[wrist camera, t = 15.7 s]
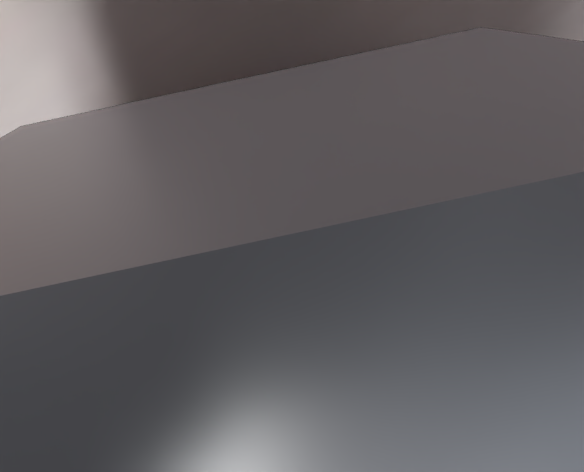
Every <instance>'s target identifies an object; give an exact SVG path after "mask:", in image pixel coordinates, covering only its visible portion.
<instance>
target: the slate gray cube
mask: <svg viewBox="0 0 584 472" xmlns="http://www.w3.org/2000/svg"><path fill="white" fill-rule="evenodd" d="M0 472H584V41H576V40H569V39H562V38H555V37H548V36H540V35H533V34H526V33H519V32H511V31H504V30H497V29H490V28H482V27H480V28H475V29H471V30H466V31H462V32H457V33H452V34H448V35H443V36H438V37H434V38H429V39H424V40H420V41H415V42H410V43H406V44H401V45H396V46H392V47H387V48H382V49H378V50H373V51H368V52H364V53H359V54H354V55H350V56H345V57H340V58H336V59H331V60H326V61H322V62H317V63H312V64H308V65H303V66H299V67H294V68H289V69H285V70H280V71H275V72H271V73H266V74H261V75H257V76H252V77H247V78H243V79H238V80H233V81H229V82H224V83H219V84H215V85H210V86H205V87H201V88H196V89H191V90H187V91H182V92H177V93H173V94H168V95H163V96H159V97H154V98H149V99H145V100H140V101H136V102H131V103H126V104H122V105H117V106H112V107H108V108H103V109H98V110H94V111H89V112H84V113H80V114H75V115H70V116H66V117H61V118H56V119H52V120H47V121H42V122H38V123H33V124H28V125H24V126H20V127H18V128H17V129H15V130H13V131H12V132H10V133H8V134H6V135H5V136H3V137H1V138H0Z"/></svg>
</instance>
